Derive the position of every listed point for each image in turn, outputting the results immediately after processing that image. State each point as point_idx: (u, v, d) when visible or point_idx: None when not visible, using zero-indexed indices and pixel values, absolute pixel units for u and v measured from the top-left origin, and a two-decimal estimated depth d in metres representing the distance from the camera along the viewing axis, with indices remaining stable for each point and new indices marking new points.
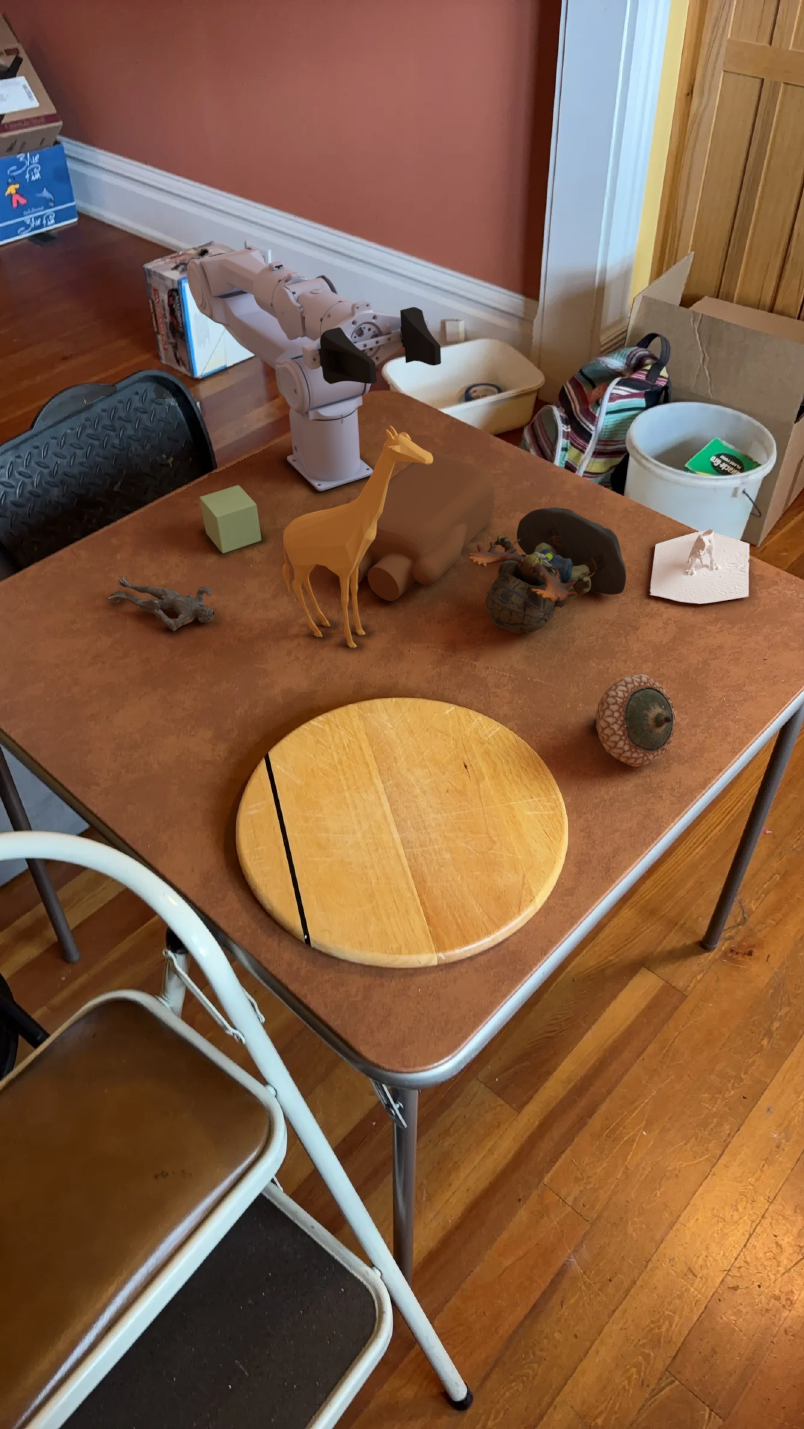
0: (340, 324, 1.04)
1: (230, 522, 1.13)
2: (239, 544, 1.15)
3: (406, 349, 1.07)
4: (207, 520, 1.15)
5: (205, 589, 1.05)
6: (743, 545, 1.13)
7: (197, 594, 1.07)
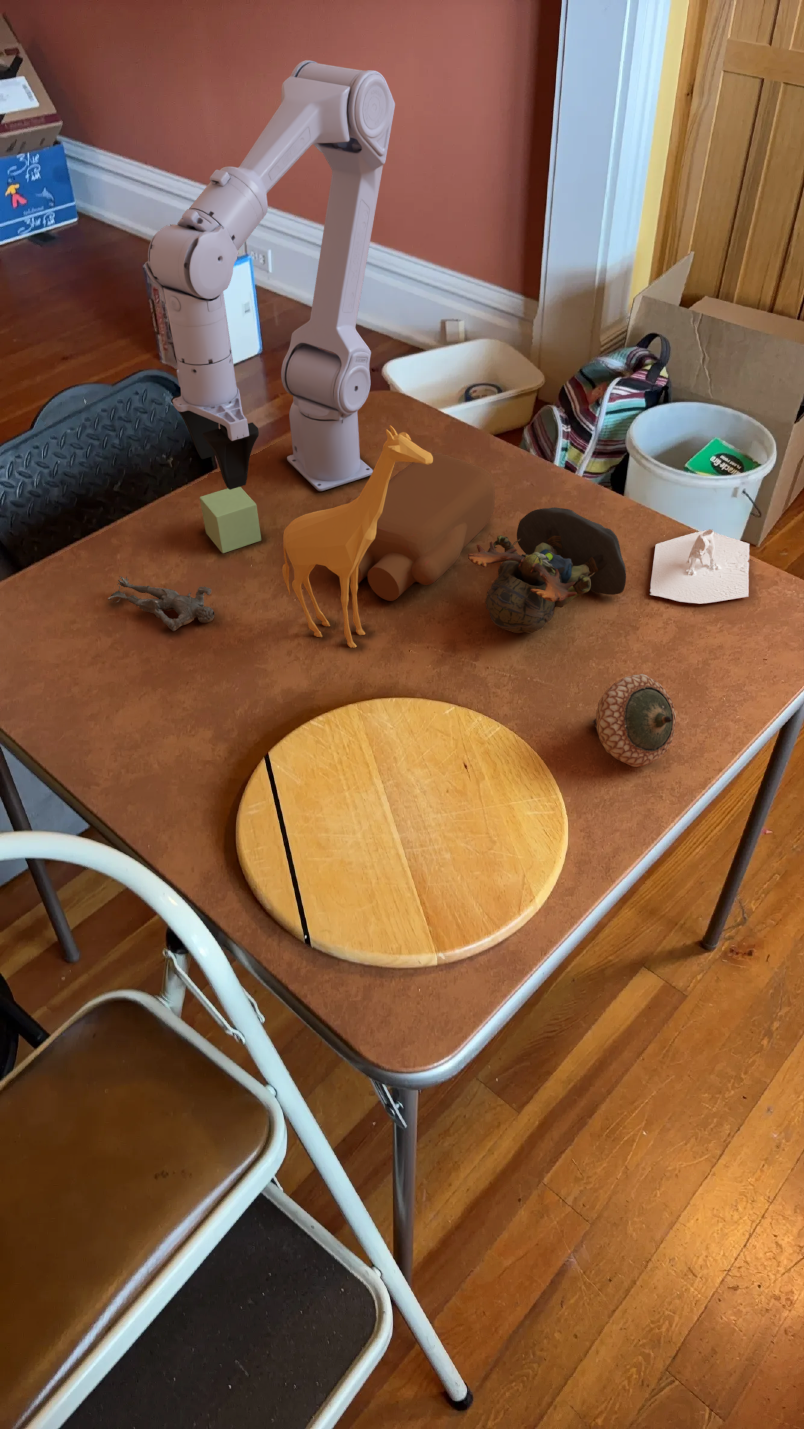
0: None
1: (230, 522, 1.13)
2: (239, 544, 1.15)
3: None
4: (207, 520, 1.15)
5: (205, 589, 1.05)
6: (743, 545, 1.13)
7: (197, 594, 1.07)
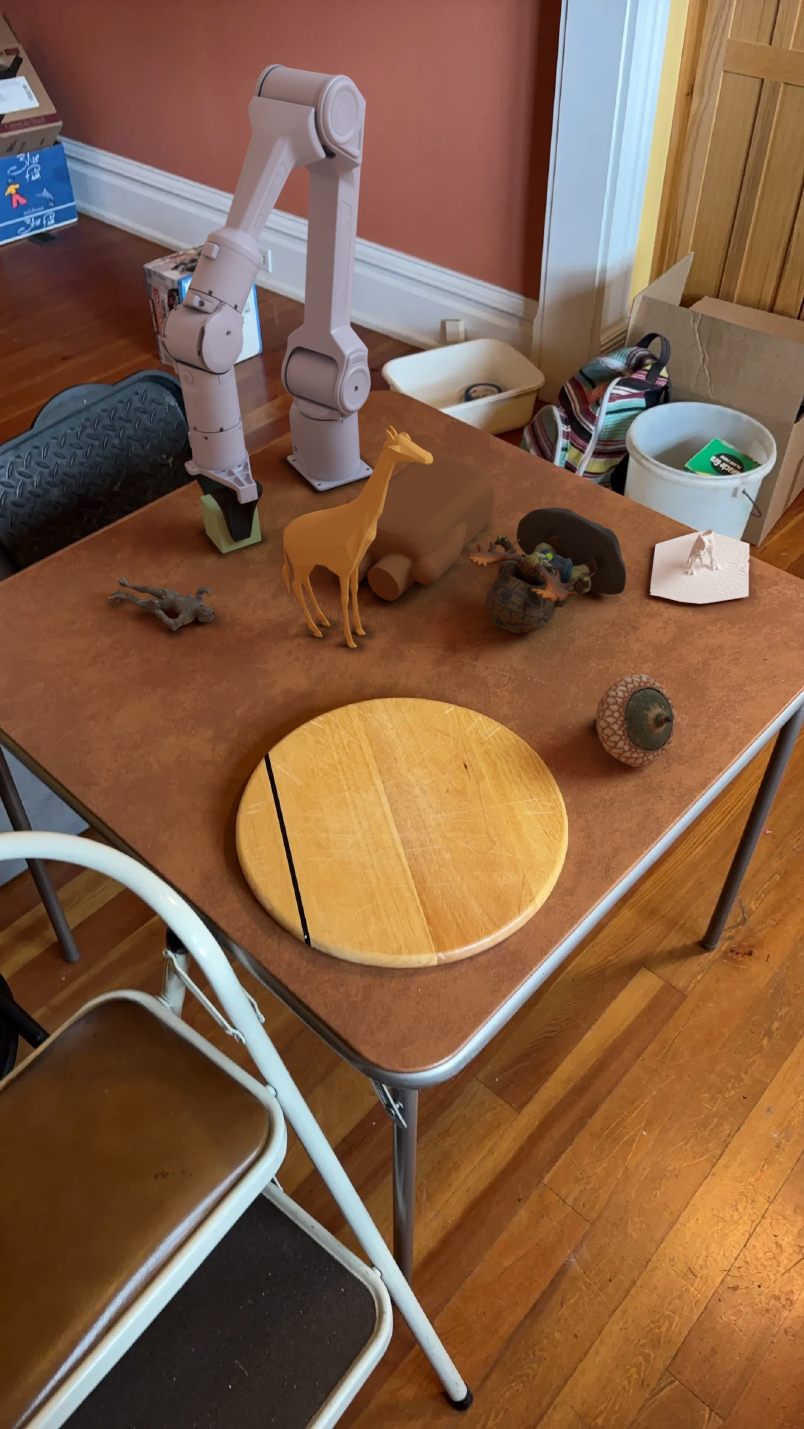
0: None
1: None
2: (239, 544, 1.15)
3: None
4: (207, 520, 1.15)
5: (205, 589, 1.05)
6: (743, 545, 1.13)
7: (197, 594, 1.07)
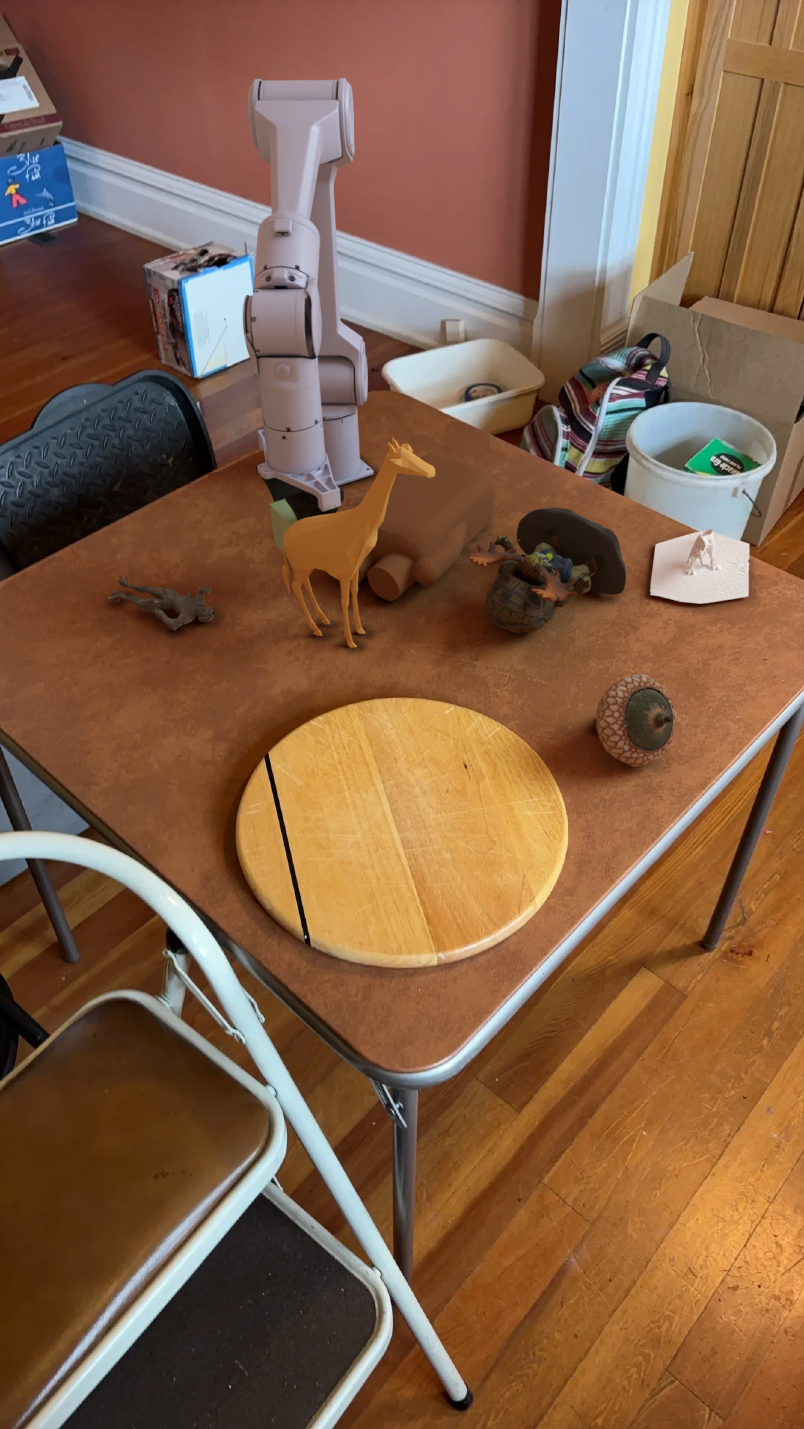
0: None
1: None
2: None
3: None
4: (277, 529, 1.03)
5: (205, 589, 1.05)
6: (743, 545, 1.13)
7: (197, 593, 1.07)
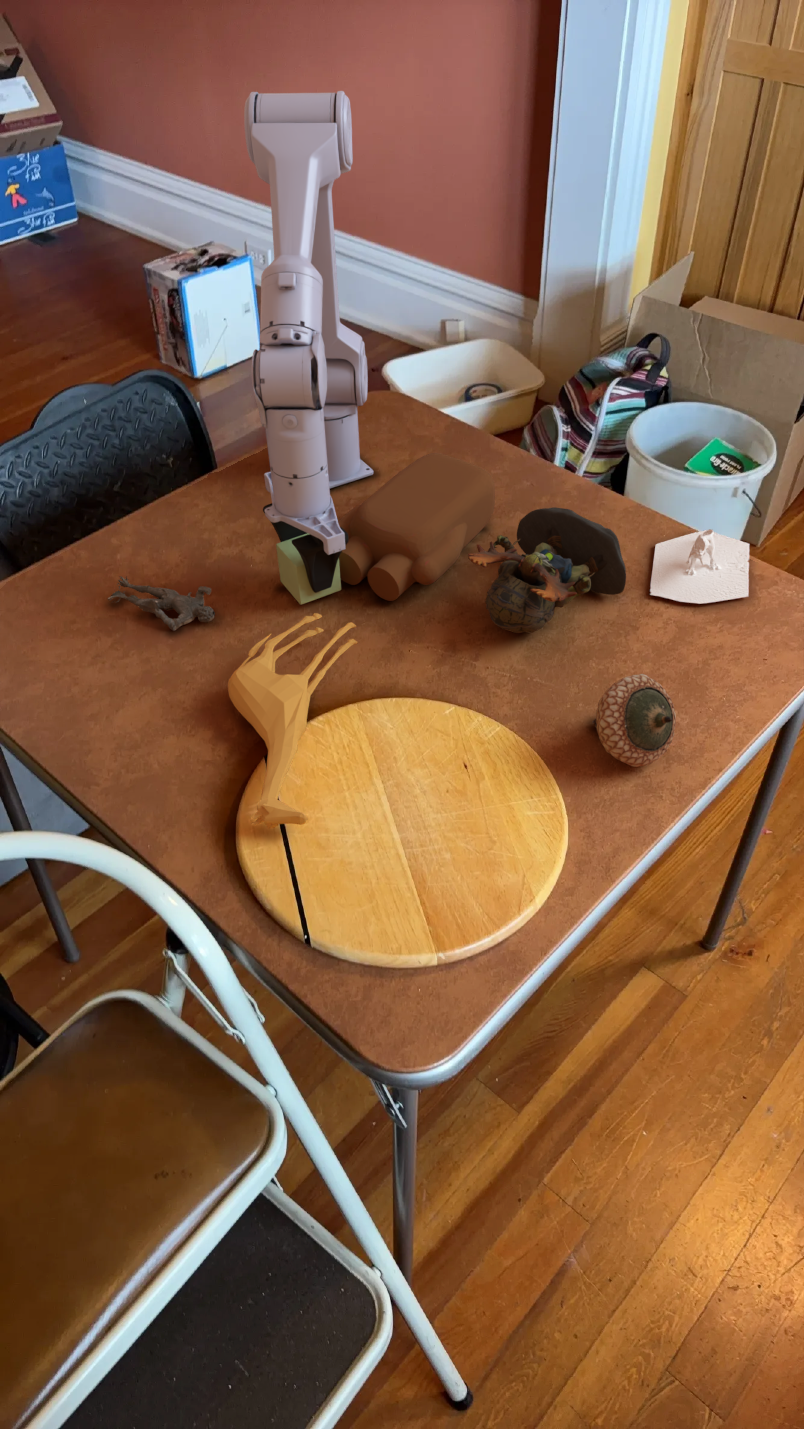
0: None
1: None
2: (318, 594, 1.07)
3: None
4: (284, 569, 1.06)
5: (205, 589, 1.05)
6: (743, 545, 1.13)
7: (197, 593, 1.07)
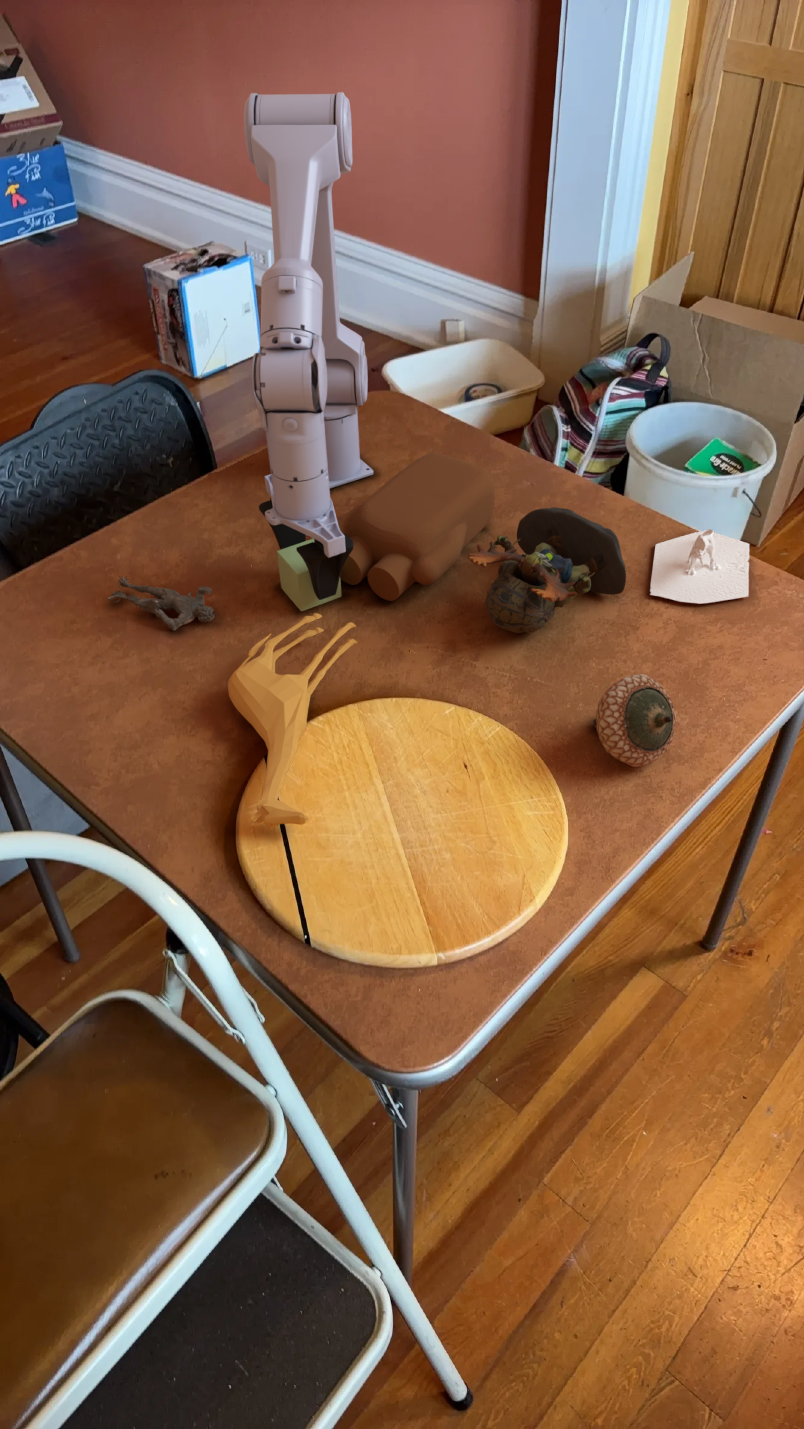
0: None
1: None
2: (319, 601, 1.07)
3: None
4: (284, 575, 1.07)
5: (205, 589, 1.05)
6: (743, 545, 1.13)
7: (197, 593, 1.07)
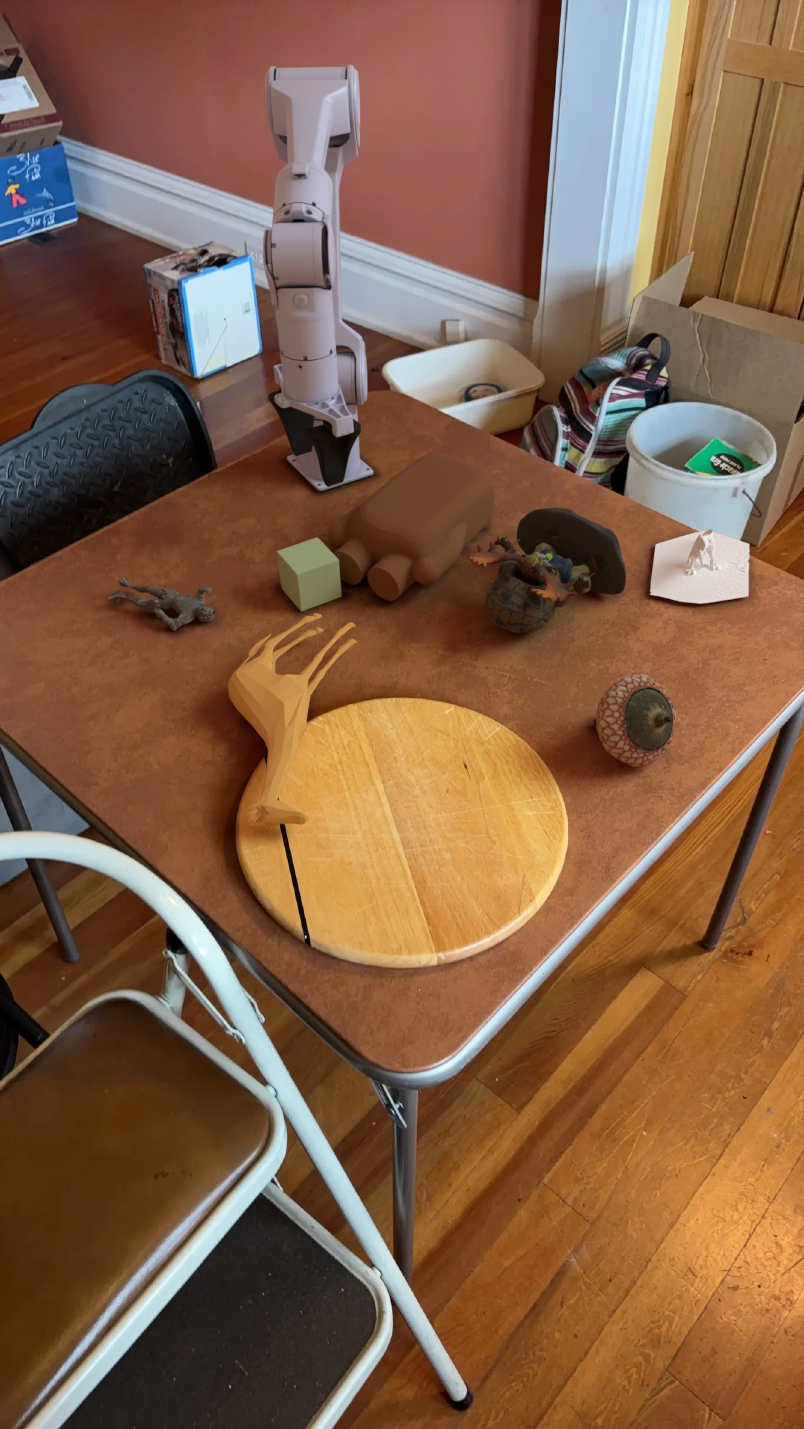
0: (281, 388, 1.05)
1: (311, 579, 1.05)
2: (319, 601, 1.07)
3: None
4: (284, 576, 1.07)
5: (205, 588, 1.05)
6: (743, 545, 1.13)
7: (197, 593, 1.07)
